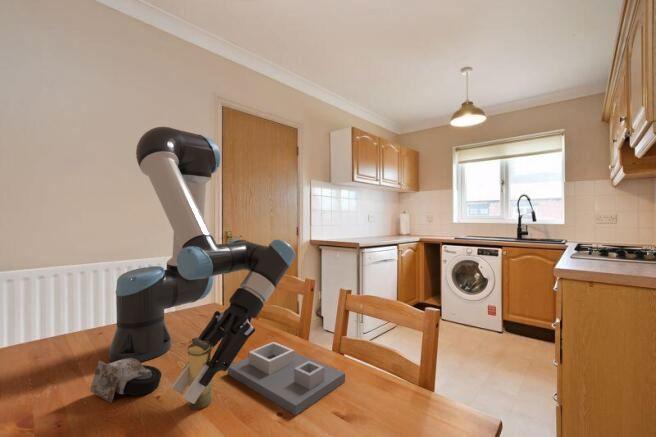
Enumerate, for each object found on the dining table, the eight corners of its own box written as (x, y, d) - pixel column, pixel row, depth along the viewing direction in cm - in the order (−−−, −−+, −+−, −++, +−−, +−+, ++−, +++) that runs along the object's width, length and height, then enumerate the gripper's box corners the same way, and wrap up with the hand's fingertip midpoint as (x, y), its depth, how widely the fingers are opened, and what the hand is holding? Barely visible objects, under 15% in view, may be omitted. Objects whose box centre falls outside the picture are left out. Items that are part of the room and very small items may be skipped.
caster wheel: (164, 393, 71) (124, 414, 61) (129, 375, 74) (86, 392, 65) (172, 365, 71) (134, 380, 62) (137, 348, 75) (96, 360, 65)
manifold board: (227, 374, 75) (227, 353, 75) (277, 351, 87) (277, 334, 87) (295, 415, 59) (295, 390, 59) (345, 381, 72) (345, 360, 72)
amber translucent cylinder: (183, 403, 63) (182, 341, 63) (205, 392, 67) (205, 334, 67) (195, 413, 60) (195, 349, 60) (217, 402, 63) (217, 341, 63)
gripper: (284, 311, 69) (217, 421, 57) (240, 297, 80) (176, 386, 68) (265, 293, 65) (189, 406, 53) (221, 281, 76) (150, 372, 64)
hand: (182, 395), depth 60 cm, fingers closed on amber translucent cylinder, 4 cm apart
